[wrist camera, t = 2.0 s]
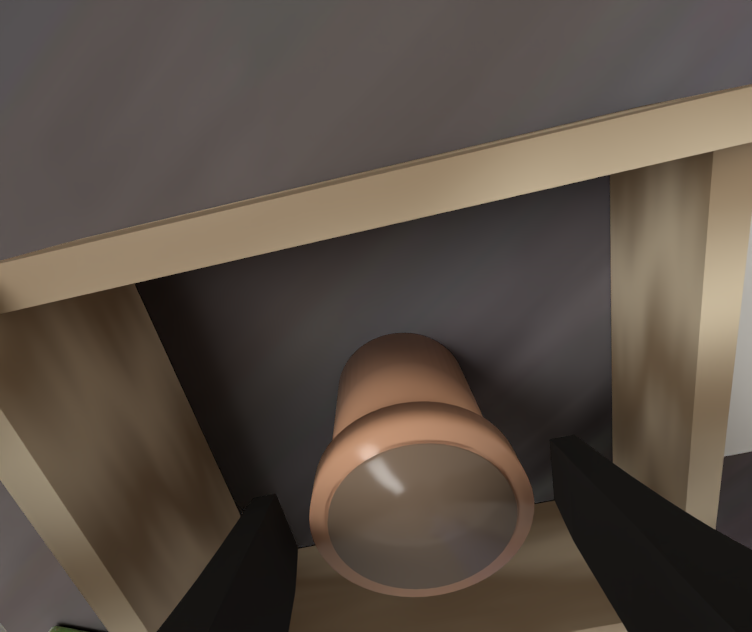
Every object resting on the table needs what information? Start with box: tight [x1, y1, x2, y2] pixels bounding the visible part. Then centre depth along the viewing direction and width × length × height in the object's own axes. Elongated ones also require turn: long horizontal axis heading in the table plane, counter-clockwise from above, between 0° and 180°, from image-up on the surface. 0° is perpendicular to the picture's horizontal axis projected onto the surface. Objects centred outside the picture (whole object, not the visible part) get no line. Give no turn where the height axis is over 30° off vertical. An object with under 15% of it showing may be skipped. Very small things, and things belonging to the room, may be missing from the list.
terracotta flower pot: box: [309, 333, 534, 597], centre depth 13 cm, size 6×6×6 cm
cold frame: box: [0, 84, 752, 632], centre depth 13 cm, size 16×18×6 cm
